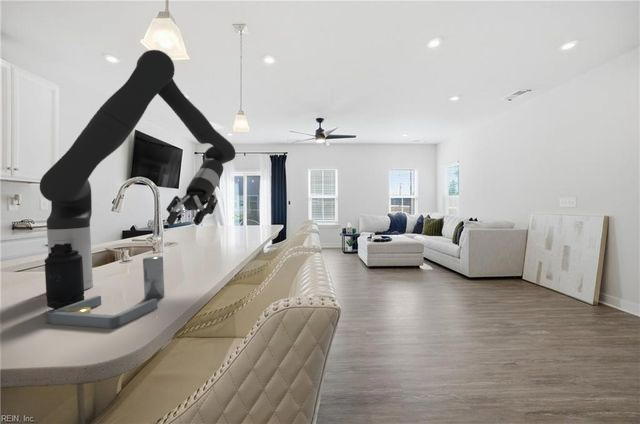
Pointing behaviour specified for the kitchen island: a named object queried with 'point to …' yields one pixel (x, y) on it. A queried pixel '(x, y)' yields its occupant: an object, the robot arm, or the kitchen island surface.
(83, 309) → the washer
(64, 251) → the black shouldered canister
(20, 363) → the kitchen island surface
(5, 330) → the kitchen island surface
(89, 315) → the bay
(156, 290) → the post
